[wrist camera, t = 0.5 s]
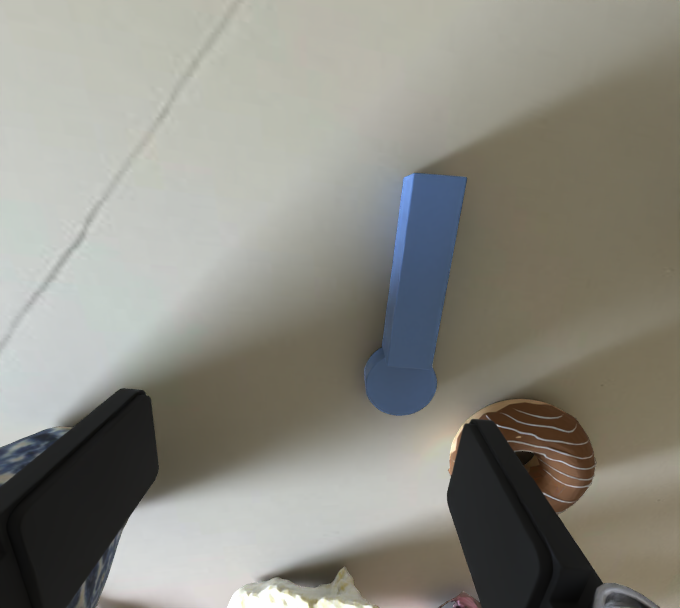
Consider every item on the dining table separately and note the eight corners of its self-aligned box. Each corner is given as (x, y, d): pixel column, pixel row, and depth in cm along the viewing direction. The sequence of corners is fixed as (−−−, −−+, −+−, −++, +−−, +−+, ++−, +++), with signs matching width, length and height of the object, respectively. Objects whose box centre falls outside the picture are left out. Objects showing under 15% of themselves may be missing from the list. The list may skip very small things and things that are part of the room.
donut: (498, 511, 29) (521, 558, 25) (416, 447, 27) (428, 488, 23) (598, 439, 26) (641, 479, 22) (516, 363, 24) (548, 393, 20)
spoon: (386, 175, 20) (393, 170, 17) (466, 182, 20) (488, 178, 17) (360, 399, 25) (362, 425, 22) (425, 404, 26) (435, 431, 22)
